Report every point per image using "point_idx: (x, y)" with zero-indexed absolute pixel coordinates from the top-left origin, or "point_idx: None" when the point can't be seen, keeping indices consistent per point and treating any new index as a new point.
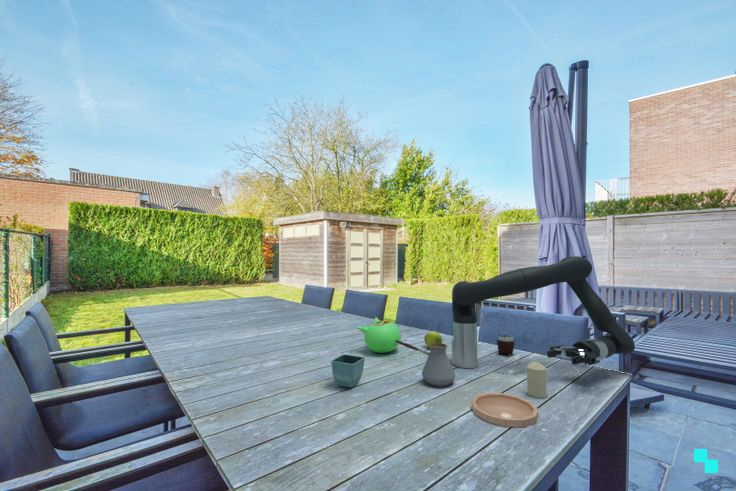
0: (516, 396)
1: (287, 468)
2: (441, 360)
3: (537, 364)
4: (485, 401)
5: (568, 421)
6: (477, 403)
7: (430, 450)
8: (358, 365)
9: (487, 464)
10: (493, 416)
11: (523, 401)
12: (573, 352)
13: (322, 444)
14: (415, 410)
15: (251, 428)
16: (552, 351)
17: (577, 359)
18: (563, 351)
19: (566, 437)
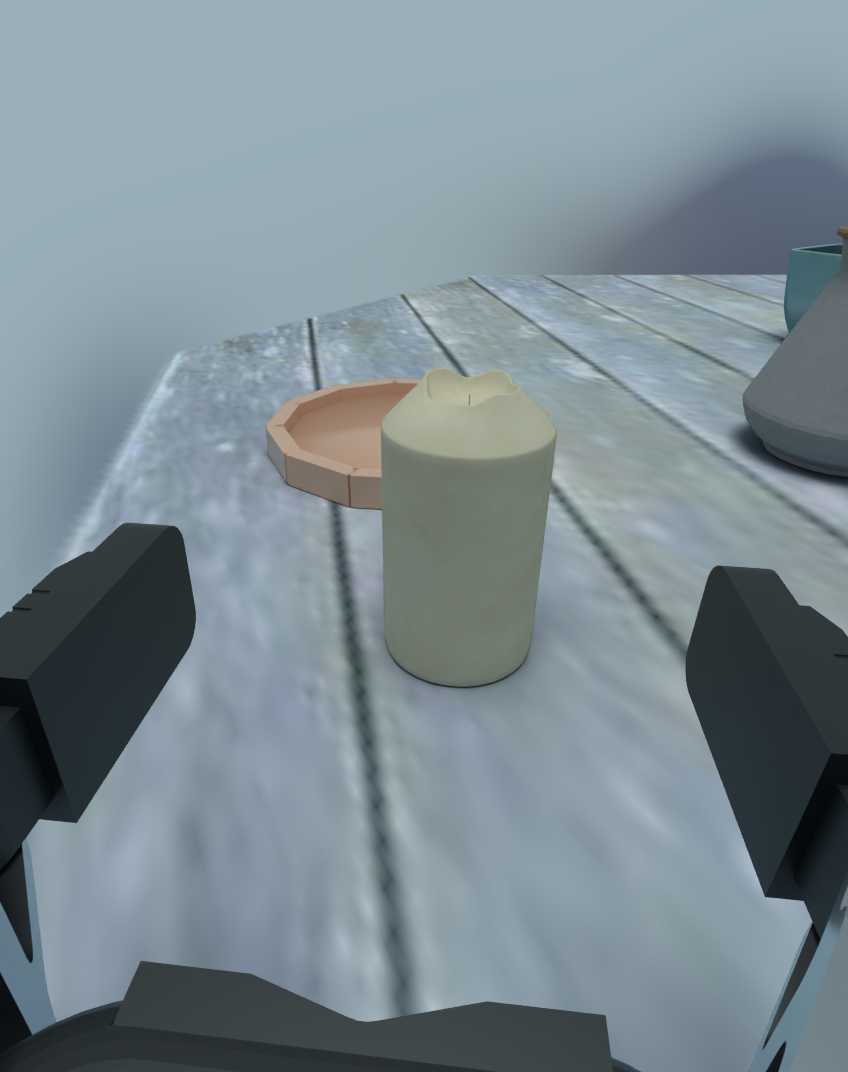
0: None
1: (474, 286)
2: (811, 306)
3: (432, 369)
4: None
5: (153, 519)
6: None
7: (385, 334)
8: (823, 270)
9: (270, 349)
10: (375, 381)
11: None
12: (282, 995)
13: (514, 300)
14: (572, 363)
15: (618, 286)
16: (755, 642)
17: (64, 566)
18: (778, 1043)
19: (136, 452)
